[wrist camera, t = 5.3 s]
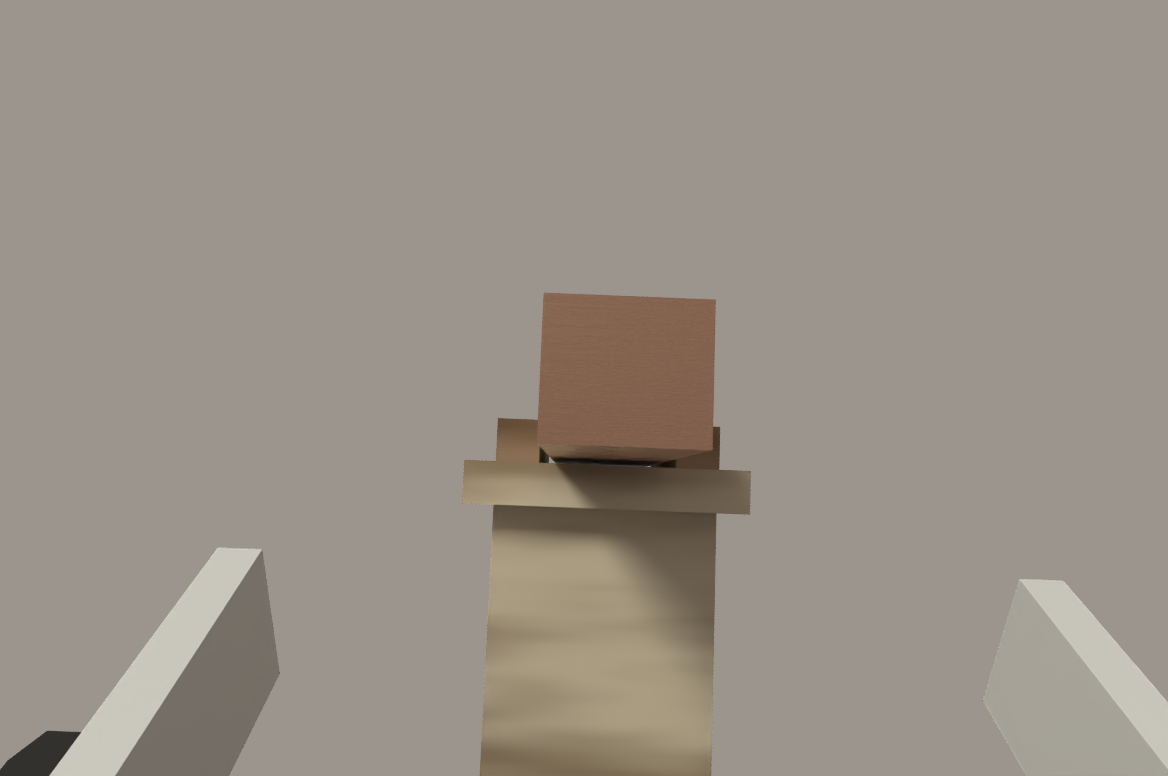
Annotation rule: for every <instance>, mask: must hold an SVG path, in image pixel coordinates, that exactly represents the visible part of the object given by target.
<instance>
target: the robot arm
mask: <svg viewBox="0 0 1168 776" xmlns="http://www.w3.org/2000/svg"><path fill="white" fill-rule="evenodd" d="M279 674H280V672H279V665H278V658H277V652H276V644H275V637H274V630H273V623H272V615H271V608H270V601H269V595H268V588H267V580H266V574H265V567H264V560H263V552H262V549H242V548H217V549H216V551H215V552H214V554H213V555H212V556H211V558H210V559H209V561H208V562H207V563H206V564H205V566H204V567H203V569H202V570H201V571H200V573H199V574H198V575H197V577H196V578H195V579H194V581H193V582H192V583H191V585H190V586H189V587H188V589H187V590H186V591H185V593H184V594H183V595H182V597H181V598H180V600H179V601H178V603H177V604H176V605H175V606H174V608H173V609H172V610H171V612H170V613H169V614H168V616H167V617H166V618H165V620H164V621H163V623H162V624H161V625H160V627H159V628H158V629H157V631H156V632H155V633H154V635H153V636H152V637H151V639H150V640H149V641H148V643H147V644H146V646H145V647H144V648H143V650H142V651H141V652H140V654H139V655H138V657H137V658H136V659H135V660H134V662H133V663H132V665H131V666H130V667H129V669H128V670H127V671H126V673H125V674H124V676H123V677H122V678H121V679H120V681H119V682H118V683H117V685H116V686H115V688H114V689H113V690H112V692H111V693H110V694H109V696H108V697H107V698H106V700H105V701H104V703H103V704H102V705H101V707H100V708H99V709H98V711H97V712H96V713H95V715H94V716H93V717H92V719H91V720H90V721H89V723H88V724H87V726H86V727H85V728H84V730H83V731H82V732H62V731H46V732H45V733H44V734H42V735H41V736H40V737H38V738H37V739H36V740H35V741H33V742H32V743H30V744H29V745H28V746H26V747H25V748H24V749H22V750H21V751H20V752H18V753H17V754H16V755H14V756H13V757H12V758H10V759H9V760H8V761H7V762H6V763H5V765H4V766H3V767H2V768H1V770H0V776H229V775H230V773H231V771H232V769H233V767H234V765H235V762H236V761H237V759H238V757H239V754H240V752H241V750H242V749H243V746H244V744H245V742H246V740H247V738H248V736H249V734H250V732H251V730H252V728H253V726H254V724H255V722H256V720H257V718H258V716H259V714H260V712H261V710H262V708H263V706H264V704H265V702H266V700H267V698H268V696H269V694H270V692H271V690H272V688H273V686H274V684H275V682H276V680H277V678H278V676H279ZM983 702H984V704H985V706H986V708H987V709H988V711H989V713H990V714H991V716H992V718H993V720H994V721H995V723H996V725H997V726H998V728H999V730H1000V732H1001V733H1002V735H1003V737H1004V738H1005V740H1006V742H1007V744H1008V745H1009V747H1010V749H1011V750H1012V752H1013V754H1014V756H1015V757H1016V759H1017V761H1018V762H1019V764H1020V766H1021V767H1022V769H1023V771H1024V773H1025V775H1026V776H1168V702H1167V701H1166V700H1165V699H1164V698H1163V696H1162V695H1161V694H1160V693H1159V692H1158V691H1157V689H1156V688H1155V687H1154V686H1153V685H1152V683H1151V682H1150V681H1149V680H1148V679H1147V678H1146V677H1145V675H1144V674H1143V673H1142V672H1141V671H1140V670H1139V668H1138V667H1137V666H1136V665H1135V664H1134V662H1133V661H1132V660H1131V659H1130V658H1129V657H1128V655H1127V654H1126V653H1125V652H1124V651H1123V650H1122V649H1121V647H1120V646H1119V645H1118V644H1117V643H1116V642H1115V640H1114V639H1113V638H1112V637H1111V636H1110V635H1109V634H1108V632H1107V631H1106V630H1105V629H1104V628H1103V626H1102V625H1101V624H1100V623H1099V622H1098V621H1097V619H1096V618H1095V617H1094V616H1093V615H1092V614H1091V612H1090V611H1089V610H1088V609H1087V608H1086V607H1085V606H1084V604H1083V603H1082V602H1081V601H1080V600H1079V598H1078V597H1077V596H1076V595H1075V594H1074V593H1073V591H1072V590H1071V589H1070V588H1069V587H1068V586H1067V584H1066V583H1065V582H1064V581H1055V580H1029V579H1019V582H1018V585H1017V589H1016V592H1015V595H1014V598H1013V602H1012V605H1011V609H1010V612H1009V615H1008V619H1007V622H1006V625H1005V628H1004V632H1003V635H1002V639H1001V641H1000V645H999V648H998V652H997V655H996V658H995V662H994V665H993V668H992V671H991V675H990V678H989V681H988V685H987V688H986V691H985V694H984V698H983Z"/></svg>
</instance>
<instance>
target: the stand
mask: <svg viewBox="0 0 1168 776" xmlns="http://www.w3.org/2000/svg"><path fill="white" fill-rule="evenodd" d="M537 431H538V420H528V419H503V418H498V431H497V450H496V451H497V452H496V461H478V460H465V461H464V475H463V493H462V503H466V504H468V503H469V504H491V505H492V504H493V505H494V507H493V527H492V547H491V566H490V585H489V587H490V588H489V605H488V606H489V607H488V625H487V644H486V645H487V646H486V664H485V683H484V685H485V686H484V704H483V722H482V742H481V762H480V776H711V760H712V710H713V709H712V708H713V705H712V704H713V657H714V606H715V555H716V551H715V550H716V513H724V514H750V481H751V480H750V478H751V471H735V470H719V455H720V453H719V452H720V427H713V450H712V451H708V452H704V453H700V454H696V455H692V456H687V457H683V458H679V459H675V460H671V461H667V462H663V463H659V464H655V465H651V467H632V466H606V465H581V464H555V463H549V455H548V454H547V453H546V452H545V451H544V450H543V449H542V448H541V447H540V446H539V445H538V444H537Z"/></svg>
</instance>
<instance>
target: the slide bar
mask: <svg viewBox="0 0 1168 776" xmlns="http://www.w3.org/2000/svg"><path fill="white" fill-rule="evenodd" d="M715 304H716V300H709V299H685V298H660V297H635V296H610V295H585V294H560V293H544V299H543V321H542V343H541V344H542V345H541V366H540V387H539V409H538V412H539V413H538V431H537V444H538V445H539V446H540V447H541V448H542V449H543V450H544V451H545V452H546V453H547V454H548V455H549V456H550V457H551V459H552V460H553V461H554V462H555V463H556V464H581V465H606V466H632V467H647V466H651V465H655V464H659V463H663V462H667V461H671V460H675V459H679V458H683V457H687V456H692V455H696V454H700V453H704V452H708V451H712V450H713V401H714V352H715Z"/></svg>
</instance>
